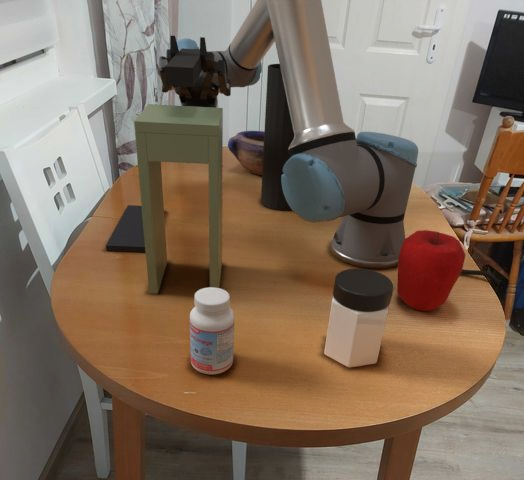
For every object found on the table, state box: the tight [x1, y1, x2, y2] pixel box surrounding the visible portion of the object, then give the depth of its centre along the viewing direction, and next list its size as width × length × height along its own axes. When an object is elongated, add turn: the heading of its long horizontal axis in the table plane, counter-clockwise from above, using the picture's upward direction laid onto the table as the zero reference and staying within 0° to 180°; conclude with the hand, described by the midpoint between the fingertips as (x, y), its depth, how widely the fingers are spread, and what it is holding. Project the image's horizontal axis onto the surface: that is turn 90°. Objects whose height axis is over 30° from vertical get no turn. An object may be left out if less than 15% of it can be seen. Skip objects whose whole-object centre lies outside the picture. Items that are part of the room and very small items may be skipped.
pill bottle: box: [189, 286, 235, 375], centre depth 71 cm, size 6×6×11 cm
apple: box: [396, 229, 466, 312], centre depth 87 cm, size 11×10×14 cm
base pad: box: [105, 204, 146, 253], centre depth 111 cm, size 22×8×1 cm, turn 1°
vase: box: [260, 63, 294, 211], centre depth 120 cm, size 10×10×30 cm
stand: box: [133, 103, 224, 295], centre depth 87 cm, size 12×12×28 cm
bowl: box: [227, 130, 265, 176], centre depth 146 cm, size 18×18×10 cm
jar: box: [323, 267, 394, 369], centre depth 75 cm, size 9×8×12 cm
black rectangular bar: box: [165, 48, 202, 87], centre depth 83 cm, size 22×4×2 cm, turn 1°
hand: (187, 45), depth 83 cm, fingers closed on black rectangular bar, 4 cm apart
